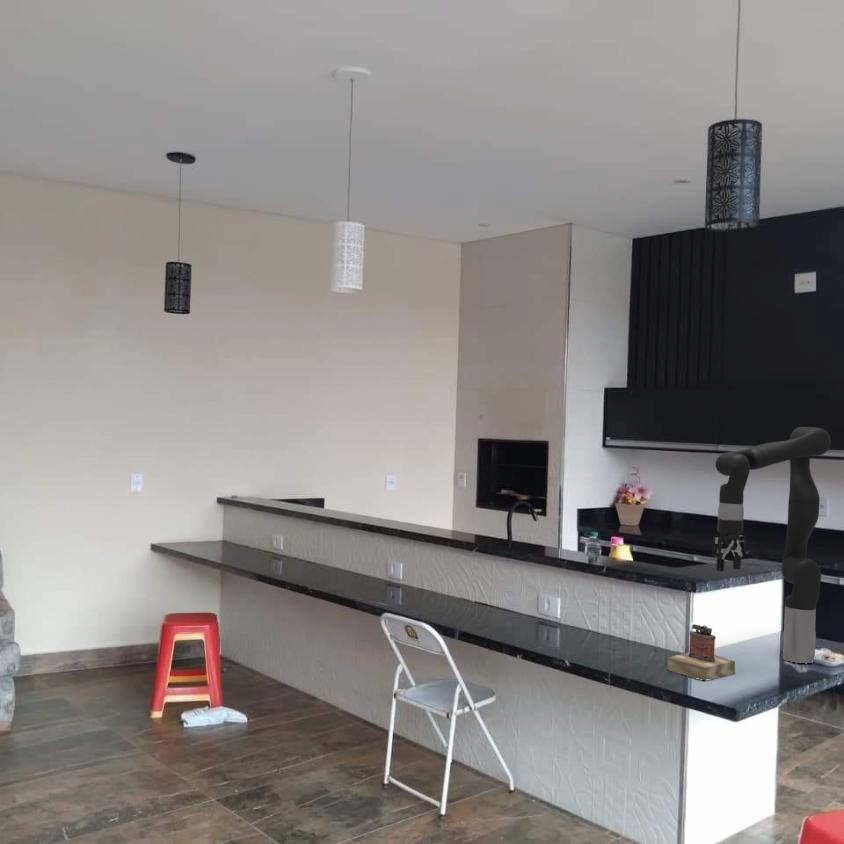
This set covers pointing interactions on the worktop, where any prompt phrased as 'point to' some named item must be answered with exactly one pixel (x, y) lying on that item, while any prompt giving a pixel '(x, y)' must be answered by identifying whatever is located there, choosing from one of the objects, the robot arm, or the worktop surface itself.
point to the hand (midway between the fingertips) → (728, 569)
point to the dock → (701, 667)
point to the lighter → (702, 643)
